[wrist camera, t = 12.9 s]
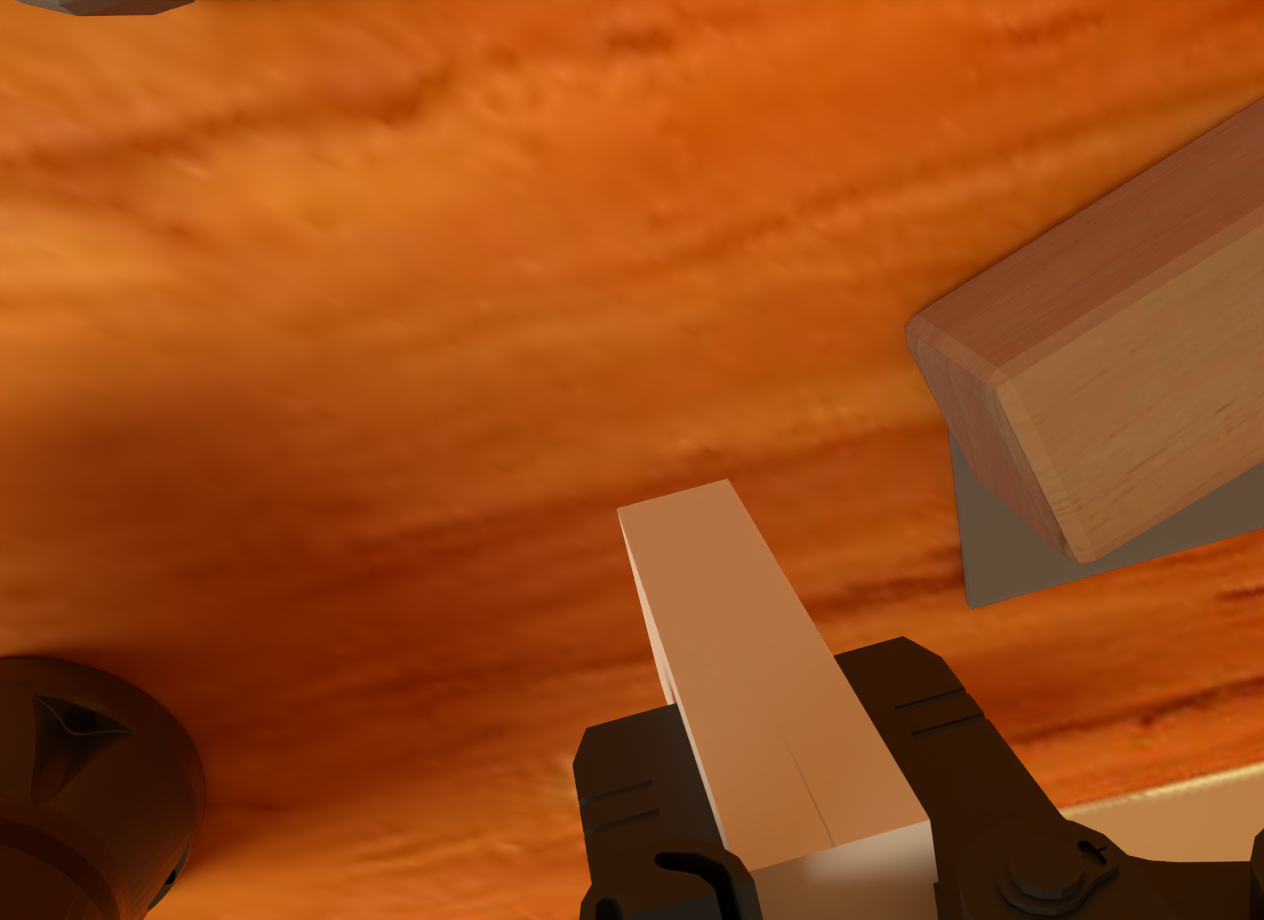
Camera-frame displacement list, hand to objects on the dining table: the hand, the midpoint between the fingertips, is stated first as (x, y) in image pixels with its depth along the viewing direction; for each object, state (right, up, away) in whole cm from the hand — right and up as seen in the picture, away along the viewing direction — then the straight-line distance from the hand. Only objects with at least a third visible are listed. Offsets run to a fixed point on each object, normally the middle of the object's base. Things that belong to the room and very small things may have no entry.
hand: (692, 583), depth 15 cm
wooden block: (+14, +2, +33) cm, 36 cm away
